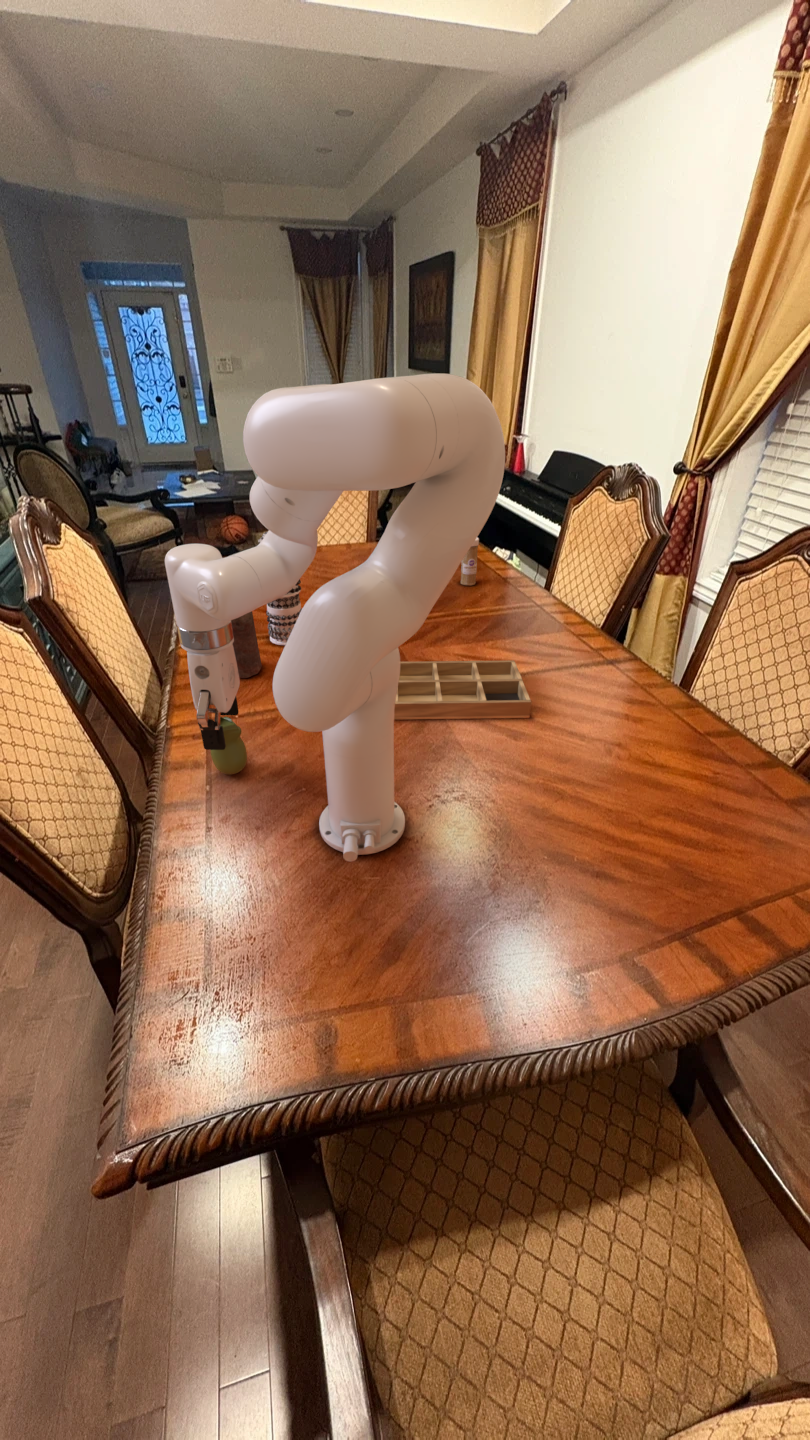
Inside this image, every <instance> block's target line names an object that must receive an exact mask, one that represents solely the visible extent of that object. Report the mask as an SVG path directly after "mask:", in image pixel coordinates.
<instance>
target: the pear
mask: <svg viewBox="0 0 810 1440" xmlns="http://www.w3.org/2000/svg"><path fill="white" fill-rule="evenodd" d="M220 726H223V732H224V738H225V744H226V747H225V749H224V750H210V757H211V760H212V764H213V766H214V767H215V769H217V771H219V772H220V773H222V774H224V775H235V774H238V773H240V772H241V771H242V770H244V769H245V767H246V765H247V762H248V752H247V748H246V745H245V744H246V743H245V742H244V740H243V738H242V737H241V735H242V728H241V727H240V726H239V725H237V724H236V722H234V721H233V719H232V718H231V717H228V716H220Z"/></svg>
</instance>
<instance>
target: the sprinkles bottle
mask: <svg viewBox="0 0 810 1440" xmlns="http://www.w3.org/2000/svg"><path fill="white" fill-rule="evenodd" d="M479 543H480V538H479V537H478V536H477V538H476V539H475V541H474V543H473V544H472V546H471V547H470V549H469V550H468V552H467V553H466V555H465V557H464V558H463V560H462V561H461V567H460V573H461V574H460V581H459V582H460V584H461V585H462V586H467V587H468V586H474V585H476V580H477V579H476V577H477V567H478V550H479Z"/></svg>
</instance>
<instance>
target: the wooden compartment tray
mask: <svg viewBox="0 0 810 1440" xmlns="http://www.w3.org/2000/svg"><path fill="white" fill-rule="evenodd" d="M531 708H532V700H531V698H530V695H529V693H528V690H527V688H526V686H525V683H524V680H523V678H522V675H521V673H520V670H519V668H518V665H517V663H516V661H515V660H510V659H509V660H435V661H433V660H432V661H428V660H427V661H423V660H422V661H400V676H399V682H398V688H397V693H396V699H395V709H394V721H395V720H396V721H398V720H401V721H402V720H465V719H469V720H471V719H472V720H473V719H529V718H530V717H531V716H530V715H531Z"/></svg>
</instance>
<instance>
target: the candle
mask: <svg viewBox="0 0 810 1440" xmlns="http://www.w3.org/2000/svg"><path fill="white" fill-rule="evenodd" d="M253 614H254V613H253V611H251V612H249V613H247V614H245V615H243V616H241V617H238V618H236V619H233V620H231V622H232V629H233V636H234V642H233V648H234V652H235V657H236V663H237V668H238V673H239V679H248V678H250V677H253V676H255V675H258V674H259V673H260V670H262V666H263V665H262V659H261V654H260V653H261V652H260V649H259V642H258V638H257V632H256V626H255V620H254V615H253Z"/></svg>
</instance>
